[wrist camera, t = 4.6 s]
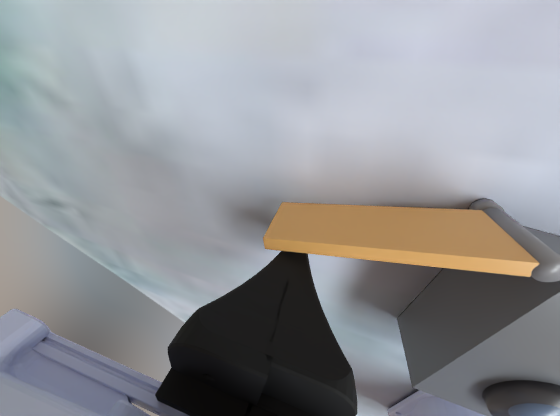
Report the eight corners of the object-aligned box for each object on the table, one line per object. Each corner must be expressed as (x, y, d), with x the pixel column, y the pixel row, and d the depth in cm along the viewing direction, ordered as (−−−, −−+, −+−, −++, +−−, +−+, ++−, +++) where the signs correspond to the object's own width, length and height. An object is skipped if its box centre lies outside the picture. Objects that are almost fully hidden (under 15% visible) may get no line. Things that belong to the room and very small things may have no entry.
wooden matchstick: (283, 213, 12) (265, 251, 9) (281, 199, 11) (262, 235, 9) (499, 225, 9) (562, 284, 6) (508, 208, 9) (580, 263, 6)
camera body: (488, 350, 14) (542, 451, 10) (381, 313, 15) (394, 392, 11) (662, 245, 8) (919, 376, 5) (477, 196, 9) (568, 273, 6)
